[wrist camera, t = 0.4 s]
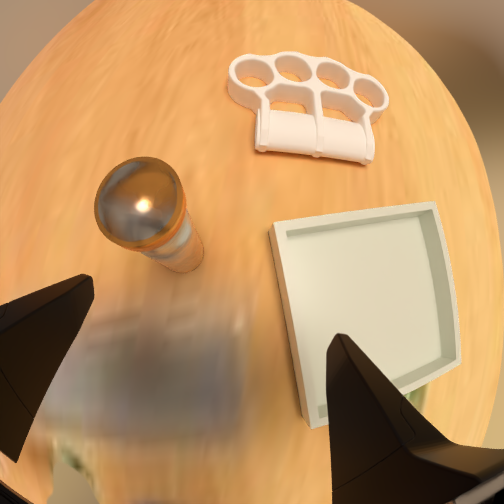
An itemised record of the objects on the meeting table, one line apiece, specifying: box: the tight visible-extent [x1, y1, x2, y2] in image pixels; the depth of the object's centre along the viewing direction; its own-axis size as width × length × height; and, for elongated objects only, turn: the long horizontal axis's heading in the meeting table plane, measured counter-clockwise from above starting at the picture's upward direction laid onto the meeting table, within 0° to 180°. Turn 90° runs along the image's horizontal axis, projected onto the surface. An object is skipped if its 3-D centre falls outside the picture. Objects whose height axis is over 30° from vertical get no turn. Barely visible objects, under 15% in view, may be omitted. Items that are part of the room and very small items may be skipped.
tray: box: [268, 201, 461, 429], centre depth 23 cm, size 17×17×3 cm
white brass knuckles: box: [228, 52, 389, 165], centre depth 26 cm, size 3×18×15 cm
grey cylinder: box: [94, 157, 204, 273], centre depth 17 cm, size 4×4×13 cm
